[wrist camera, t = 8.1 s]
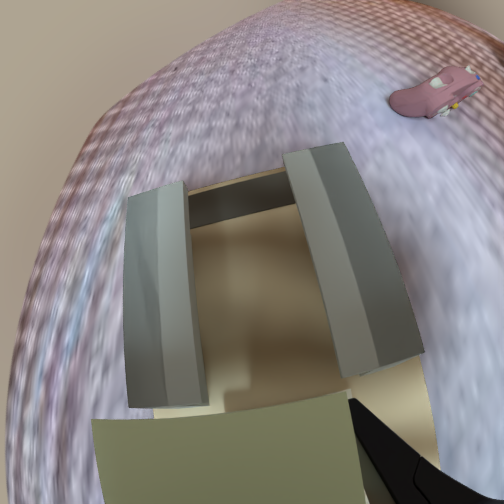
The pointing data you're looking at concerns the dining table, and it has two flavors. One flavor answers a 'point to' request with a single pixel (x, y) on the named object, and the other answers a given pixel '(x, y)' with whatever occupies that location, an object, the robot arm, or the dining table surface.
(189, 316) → the dock
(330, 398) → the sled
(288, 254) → the base board
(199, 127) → the dining table surface
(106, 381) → the dining table surface
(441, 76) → the video game controller
